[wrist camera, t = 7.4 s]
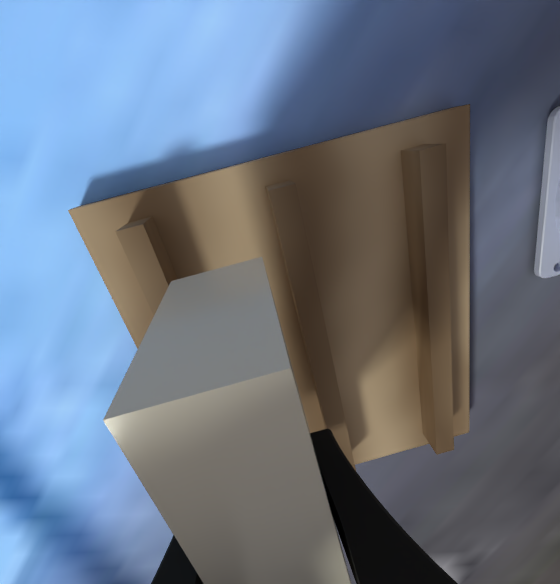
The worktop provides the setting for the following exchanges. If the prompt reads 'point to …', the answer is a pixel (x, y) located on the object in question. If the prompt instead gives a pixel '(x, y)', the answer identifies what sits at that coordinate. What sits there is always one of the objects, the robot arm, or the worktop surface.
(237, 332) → the cream rectangular block
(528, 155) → the worktop surface
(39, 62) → the worktop surface
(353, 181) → the ridged tan board
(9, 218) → the worktop surface
